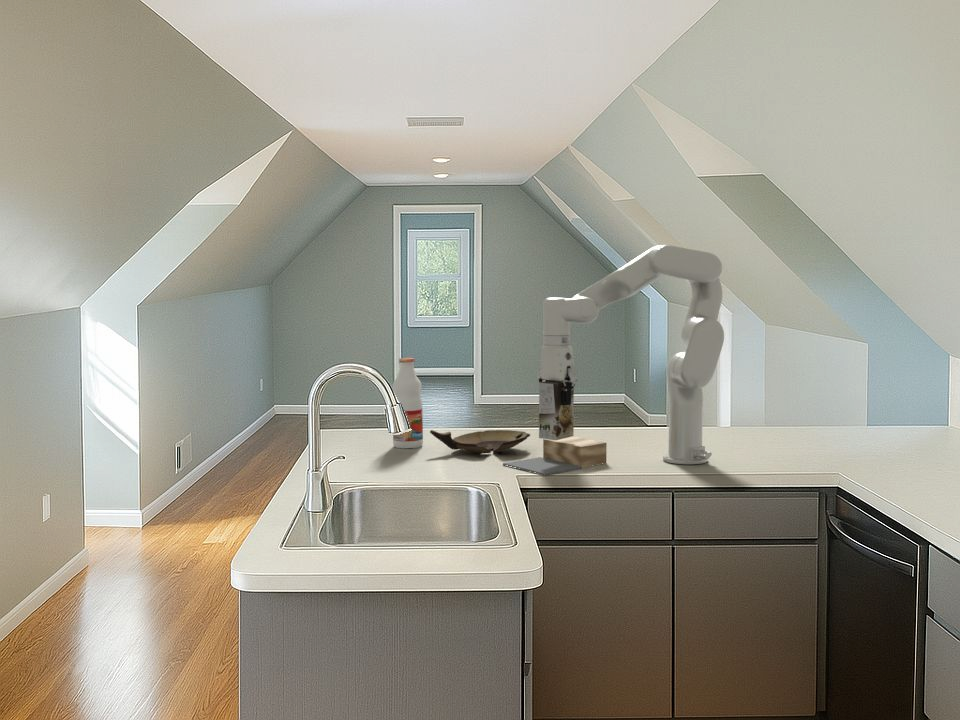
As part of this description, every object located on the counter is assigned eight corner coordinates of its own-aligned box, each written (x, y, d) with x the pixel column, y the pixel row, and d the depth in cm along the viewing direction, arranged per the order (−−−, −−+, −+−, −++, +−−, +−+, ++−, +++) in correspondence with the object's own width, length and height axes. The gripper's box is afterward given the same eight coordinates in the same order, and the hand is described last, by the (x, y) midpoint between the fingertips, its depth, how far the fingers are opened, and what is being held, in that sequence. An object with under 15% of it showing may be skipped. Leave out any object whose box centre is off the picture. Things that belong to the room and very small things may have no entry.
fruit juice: (397, 443, 317) (395, 356, 315) (425, 444, 316) (424, 357, 313) (389, 449, 308) (388, 359, 305) (419, 449, 307) (418, 360, 304)
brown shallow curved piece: (529, 459, 291) (529, 433, 290) (428, 458, 293) (427, 432, 293) (530, 445, 313) (530, 421, 313) (437, 444, 316) (436, 420, 315)
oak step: (606, 463, 283) (606, 442, 283) (581, 467, 277) (581, 446, 277) (568, 455, 296) (568, 435, 295) (543, 459, 290) (543, 439, 289)
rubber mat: (582, 468, 276) (582, 466, 276) (544, 475, 268) (544, 473, 267) (539, 459, 290) (539, 457, 290) (502, 465, 282) (502, 463, 282)
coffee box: (557, 440, 276) (557, 383, 274) (538, 438, 280) (538, 382, 278) (574, 436, 283) (574, 380, 281) (555, 433, 287) (555, 378, 285)
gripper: (587, 342, 274) (587, 405, 276) (546, 338, 288) (546, 399, 290) (567, 344, 270) (567, 408, 271) (526, 340, 283) (526, 401, 285)
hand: (556, 402), depth 280 cm, fingers closed on coffee box, 7 cm apart
